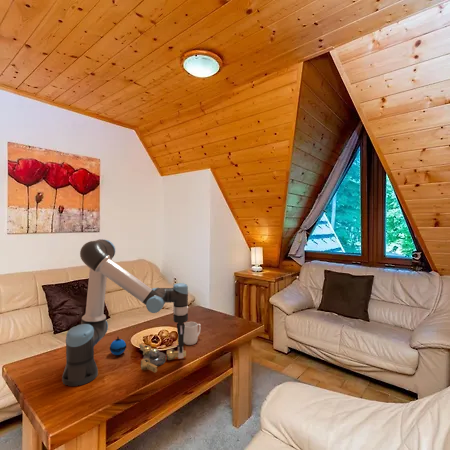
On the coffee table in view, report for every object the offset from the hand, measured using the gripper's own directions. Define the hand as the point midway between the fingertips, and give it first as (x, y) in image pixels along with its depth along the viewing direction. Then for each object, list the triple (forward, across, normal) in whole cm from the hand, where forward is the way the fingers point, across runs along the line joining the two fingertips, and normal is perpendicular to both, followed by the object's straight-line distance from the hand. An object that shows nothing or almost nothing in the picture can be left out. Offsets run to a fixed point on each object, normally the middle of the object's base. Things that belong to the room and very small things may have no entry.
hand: (180, 357), depth 149 cm
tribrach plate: (+2, +3, +14) cm, 14 cm away
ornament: (+2, +15, +34) cm, 37 cm away
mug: (+3, +23, -8) cm, 25 cm away
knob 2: (+1, -6, +16) cm, 17 cm away
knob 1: (+1, +13, +19) cm, 23 cm away
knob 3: (+1, +3, +2) cm, 4 cm away
